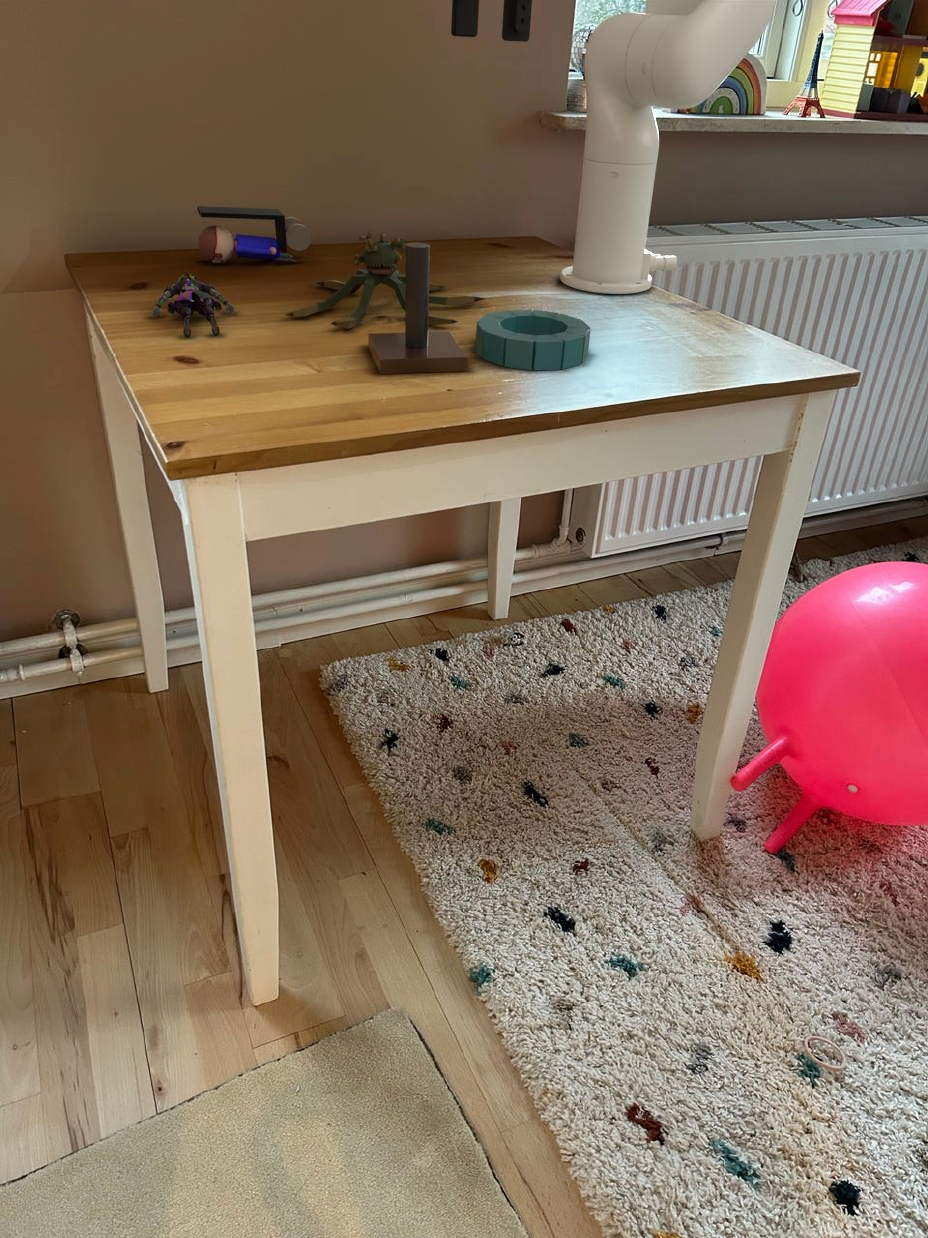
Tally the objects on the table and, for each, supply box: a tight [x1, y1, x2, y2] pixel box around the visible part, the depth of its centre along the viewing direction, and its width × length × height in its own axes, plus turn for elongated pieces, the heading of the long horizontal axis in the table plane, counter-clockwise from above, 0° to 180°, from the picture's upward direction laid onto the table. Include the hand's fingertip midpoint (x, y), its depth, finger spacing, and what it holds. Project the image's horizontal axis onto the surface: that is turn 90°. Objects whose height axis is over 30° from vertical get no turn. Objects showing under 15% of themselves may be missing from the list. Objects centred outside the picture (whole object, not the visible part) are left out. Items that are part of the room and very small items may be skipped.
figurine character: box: [196, 205, 312, 264], centre depth 133 cm, size 7×8×15 cm
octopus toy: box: [285, 231, 487, 330], centre depth 115 cm, size 25×20×9 cm
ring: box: [475, 309, 591, 371], centre depth 104 cm, size 12×12×3 cm
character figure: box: [151, 272, 236, 338], centre depth 110 cm, size 9×4×16 cm
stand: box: [367, 241, 469, 375], centre depth 98 cm, size 9×9×12 cm
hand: (489, 38), depth 103 cm, fingers open, 9 cm apart
